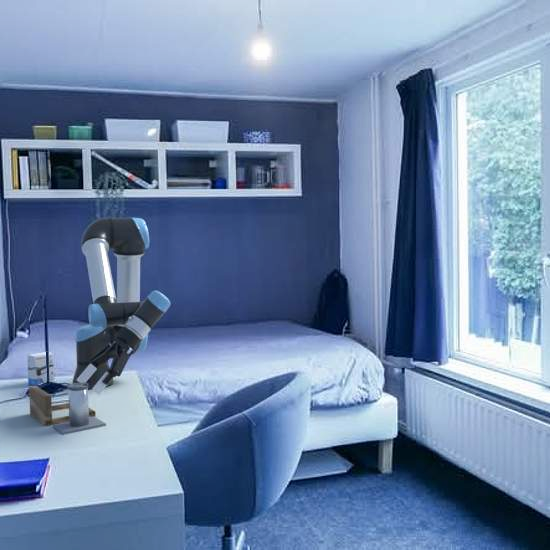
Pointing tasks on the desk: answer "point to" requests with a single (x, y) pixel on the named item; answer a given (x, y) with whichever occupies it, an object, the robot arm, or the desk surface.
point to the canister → (78, 404)
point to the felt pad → (66, 427)
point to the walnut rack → (47, 407)
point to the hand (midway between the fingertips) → (87, 387)
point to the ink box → (39, 368)
